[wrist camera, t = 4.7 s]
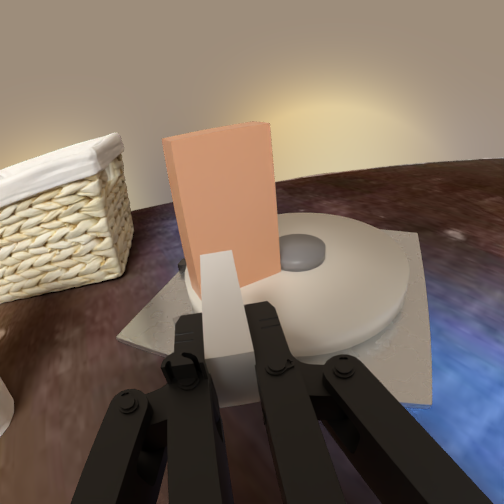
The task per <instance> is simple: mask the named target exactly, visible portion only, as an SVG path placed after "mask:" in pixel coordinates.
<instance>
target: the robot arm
mask: <svg viewBox="0 0 504 504" xmlns="http://www.w3.org/2000/svg"><path fill="white" fill-rule="evenodd" d="M200 272H201V298H202V313H195V314H188V315H182V316H180V317H179V319H178V321H177V322H176V324H175V337H174V343H175V344H174V352H173V353H171V354H170V355H168V356H167V357H166V358H165V359H164V360H163V362H162V365H161V369H162V372H163V374H164V376H165V378H166V381H167V384H166V385H165V386H163V387H162V388H160V389H158V390H156V391H153V392H150V393H148V394H144V393H143V392H141V391H139V390H136V389H127V390H124V391H121V392H120V393H118V394H117V395H116V396H115V397H114V398H113V400H112V401H111V403H110V405H109V408H108V410H107V412H106V415H105V417H104V419H103V422H102V424H101V426H100V429H99V431H98V434H97V436H96V439H95V441H94V444H93V446H92V448H91V451H90V454H89V456H88V459H87V461H86V464H85V466H84V469H83V471H82V474H81V477H80V479H79V482H78V485H77V487H76V490H75V493H74V496H73V498H72V501H71V504H156V503H157V499H158V495H159V491H160V487H161V483H162V479H163V475H164V471H165V467H166V463H167V460H168V493H169V504H234V501H233V494H232V488H231V481H230V475H229V468H228V461H227V454H226V446H225V439H224V431H223V423H222V419H221V416H220V411H219V407H220V408H224V407H231V406H237V405H243V404H249V403H255V402H261V405H262V412H263V418H264V425H265V426H266V431H267V435H268V440H269V444H270V448H271V453H272V457H273V462H274V466H275V470H276V475H277V479H278V483H279V488H280V492H281V496H282V500H283V504H346V501H345V499H344V496H343V493H342V490H341V487H340V484H339V481H338V478H337V475H336V472H335V469H334V466H333V463H332V461H331V458H330V455H329V452H328V449H327V446H326V443H325V440H324V437H323V434H322V432H321V429H320V426H319V423H318V420H321V422H322V423H323V424H324V426H325V427H326V429H327V430H328V431H329V433H330V434H331V436H332V437H333V438H334V440H335V441H336V443H337V444H338V445H339V447H340V448H341V449H342V451H343V452H344V453H345V455H346V456H347V458H348V459H349V460H350V462H351V463H352V464H353V466H354V467H355V468H356V470H357V471H358V472H359V474H360V475H361V476H362V478H363V479H364V480H365V482H366V483H367V484H368V486H369V487H370V488H371V490H372V491H373V492H374V494H375V495H376V496H377V498H378V499H379V500H380V501H381V503H382V504H493V503H492V502H491V501H490V499H489V498H488V497H487V496H486V495H485V494H484V493H483V492H482V491H481V490H480V489H479V488H478V486H477V485H476V484H475V483H474V482H473V481H472V480H471V479H470V478H469V477H468V476H467V475H466V473H465V472H464V471H463V470H462V469H461V468H460V467H459V466H458V465H457V464H456V463H455V462H454V460H453V459H452V458H451V457H450V456H449V455H448V454H447V453H446V452H445V451H444V450H443V449H442V448H441V446H440V445H439V444H438V443H437V442H436V441H435V440H434V439H433V438H432V437H431V436H430V435H429V434H428V432H427V431H426V430H425V429H424V428H423V427H422V426H421V425H420V424H419V423H418V422H417V421H416V420H415V418H414V417H413V416H412V415H411V414H410V413H409V412H408V411H407V410H406V409H405V408H404V407H403V406H402V405H401V403H400V402H399V401H398V400H397V399H396V398H395V397H394V396H393V395H392V394H391V393H390V392H389V391H388V390H387V388H386V387H385V386H384V385H383V384H382V383H381V382H380V381H379V380H378V379H377V378H376V377H375V376H374V375H373V374H372V372H371V371H370V370H369V369H368V368H367V367H366V366H365V365H364V364H363V363H362V362H361V361H360V360H359V359H357V358H356V357H354V356H351V355H348V354H340V355H336V356H333V357H331V358H330V359H328V360H327V361H326V363H325V364H324V365H319V364H306V363H303V362H300V361H299V360H297V359H296V358H295V357H294V356H293V355H292V354H291V352H290V350H289V347H288V344H287V341H286V338H285V335H284V332H283V329H282V326H281V324H280V321H279V318H278V315H277V312H276V309H275V307H274V306H273V305H271V304H270V303H269V302H268V301H263V302H258V303H252V304H246V305H244V304H243V300H242V295H241V291H240V286H239V281H238V277H237V272H236V267H235V263H234V258H233V253H232V250H228V251H222V252H216V253H209V254H203V255H200Z"/></svg>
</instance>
